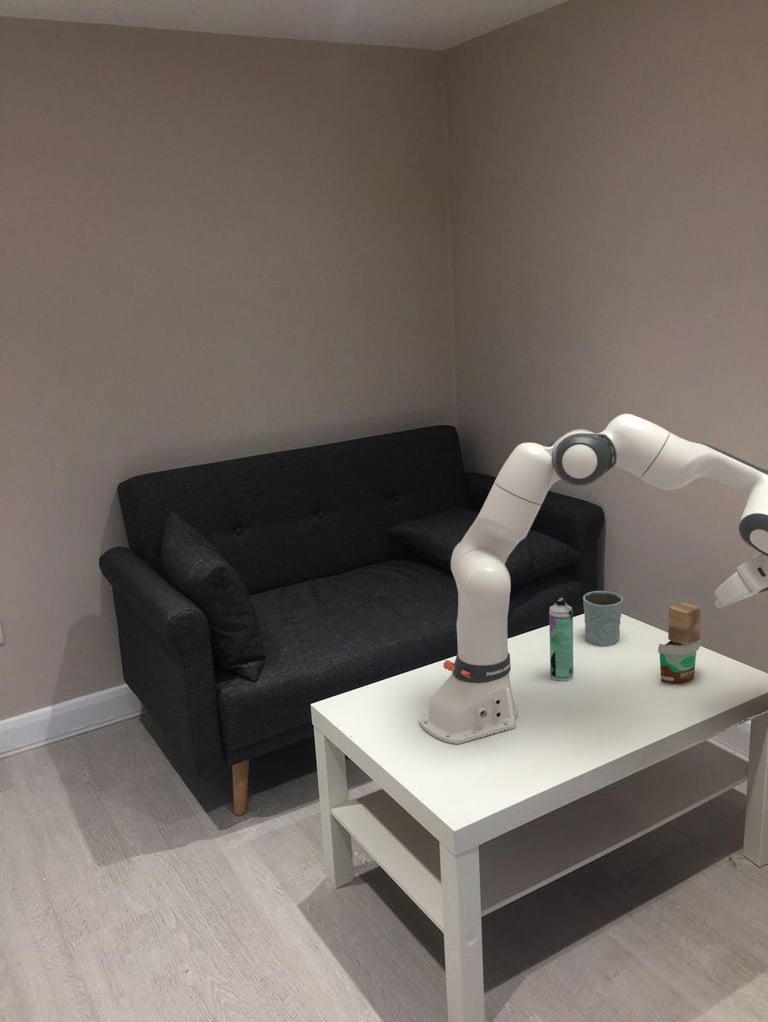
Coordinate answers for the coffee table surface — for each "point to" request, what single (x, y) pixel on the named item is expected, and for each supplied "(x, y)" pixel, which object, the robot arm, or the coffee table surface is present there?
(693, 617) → the walnut block
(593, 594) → the plant pot
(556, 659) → the spray can
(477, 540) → the robot arm
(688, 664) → the ice cream tub
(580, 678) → the coffee table surface
